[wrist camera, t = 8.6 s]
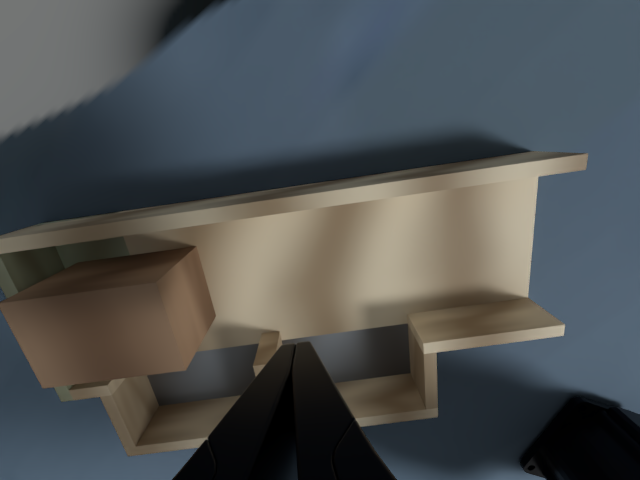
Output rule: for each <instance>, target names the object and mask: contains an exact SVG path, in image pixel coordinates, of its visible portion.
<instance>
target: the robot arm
mask: <svg viewBox="0 0 640 480" xmlns="http://www.w3.org/2000/svg"><path fill="white" fill-rule="evenodd" d="M520 465H521V466H522V468H523V469H524V471H525V472H526V473H529V474H533V475H536V476H540V477H543V478H545V479H546V480H640V414H637V413H634V412H631V411H628V410H625V409H623V408H620V407H616V406H607V405H604V404H601V403H598V402H596V401H593V400H590V399H587V398H584V397H580V396H578V397H575V398H573V399H572V400H570V402H569V403H568V404H567V405H566V406H565V408H564V409H563V410H562V411H561V412H560V414H559V415H558V416H557V417H556V419H555V420H554V421H553V422H552V423H551V425H550V426H549V427H548V428H547V429H546V431H545V432H544V433H543V434H542V435H541V437H540V438H539V439H538V440H537V441H536V443H535V444H534V445H533V446H532V447H531V449H530V450H529V451H528V452H527V453H526V455H525V456H524V457H523V458H522V460H521V461H520ZM172 480H397V479H396V478H395V477H394V475H393V474H392V473H391V472H390V470H389V469H388V467H387V466H386V465H385V463H384V462H383V461H382V459H381V458H380V457H379V455H378V454H377V452H376V451H375V450H374V448H373V446H372V445H371V443H370V442H369V440H368V439H367V437H366V435H365V434H364V432H363V430H362V429H361V427H360V425H359V424H358V422H357V421H356V419H355V417H354V415H353V414H352V412H351V410H350V409H349V407H348V405H347V403H346V402H345V400H344V398H343V397H342V395H341V393H340V391H339V390H338V388H337V386H336V385H335V383H334V381H333V379H332V378H331V376H330V374H329V373H328V371H327V369H326V368H325V366H324V364H323V362H322V361H321V359H320V357H319V356H318V354H317V352H316V350H315V349H314V347H313V345H312V344H311V342H310V341H305V342H298V343H297V344H295V343H290V344H283V345H281V346H280V347H279V349H278V350H277V351H276V352H275V354H274V355H273V356H272V357H271V359H270V360H269V361H268V362H267V364H266V365H265V366H264V367H263V369H262V370H261V371H260V372H259V373H258V375H257V376H256V377H255V378H254V380H253V381H252V382H251V383H250V385H249V386H248V387H247V388H246V390H245V391H244V392H243V393H242V395H241V396H240V397H239V398H238V400H237V401H236V402H235V403H234V405H233V406H232V407H231V408H230V410H229V411H228V412H227V413H226V415H225V416H224V417H223V418H222V420H221V421H220V422H219V423H218V425H217V426H216V427H215V428H214V430H213V431H212V432H211V433H210V435H209V436H208V440H207V439H206V440H205V441H204V442H203V443H202V444H201V446H200V447H199V448H198V449H197V451H196V452H195V453H194V454H193V456H192V457H191V458H190V459H189V460H188V462H187V463H186V464H185V465H184V466H183V467H182V469H181V470H180V471H179V472H178V473H177V475H176V476H175V477H174V478H173V479H172Z"/></svg>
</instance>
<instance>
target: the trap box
mask: <svg viewBox="0 0 640 480" xmlns="http://www.w3.org/2000/svg"><path fill="white" fill-rule="evenodd" d="M587 158H588V154H586V153H563V152H539V151H531V152H524V153H517V154H511V155H504V156H497V157H490V158H483V159H476V160H469V161H463V162H456V163H449V164H442V165H435V166H428V167H422V168H415V169H408V170H401V171H394V172H387V173H380V174H374V175H367V176H360V177H353V178H346V179H339V180H332V181H326V182H319V183H312V184H305V185H298V186H291V187H285V188H278V189H271V190H264V191H257V192H250V193H243V194H237V195H230V196H223V197H216V198H209V199H202V200H196V201H189V202H182V203H175V204H168V205H161V206H154V207H148V208H141V209H134V210H127V211H120V212H113V213H107V214H100V215H93V216H86V217H79V218H72V219H65V220H59V221H52V222H45V223H40V224H37V225H33V226H30V227H27V228H23V229H20V230H17V231H13V232H10V233H7V234H3V235H0V287H1V289H2V291H3V292H4V294H5V296H6V298H9V297H11V296H13V295H15V294H17V293H19V292H21V291H23V290H25V289H27V288H29V287H31V286H33V285H35V284H37V283H38V282H40V281H42V280H44V279H46V278H48V277H50V276H52V275H54V274H56V273H58V272H60V271H62V270H64V269H66V268H68V267H70V266H72V265H74V264H76V263H78V262H84V261H91V260H99V259H106V258H113V257H121V256H128V255H135V254H143V253H150V252H158V251H165V250H172V249H180V248H187V247H194V246H197V250H198V253H199V257H200V261H201V264H202V268H203V271H204V275H205V278H206V282H207V285H208V289H209V293H210V296H211V300H212V303H213V307H214V310H215V314H216V317H215V319H214V321H213V323H212V324H211V326H210V328H209V330H208V332H207V333H206V335H205V337H204V339H203V341H202V342H201V344H200V346H199V348H198V350H197V351H196V353H195V355H194V357H193V359H192V360H191V362H190V364H189V366H188V368H187V369H186V370H185V371H177V372H169V373H162V374H154V375H146V376H138V377H130V378H122V379H114V380H107V381H99V382H91V383H83V384H75V385H67V386H59V387H54V389H55V391H56V392H57V394H58V396H59V398H60V400H61V402H64V401H72V400H79V399H87V398H95V397H100V398H101V400H102V402H103V405H104V407H105V409H106V411H107V413H108V415H109V417H110V419H111V421H112V424H113V426H114V428H115V430H116V432H117V434H118V436H119V438H120V440H121V442H122V445H123V447H124V449H125V451H126V453H127V455H128V456H135V455H143V454H151V453H159V452H166V451H174V450H182V449H190V448H198V447H200V446H201V444H202V443H203V442H204V441H205V440H206V439H207V440H208V436H209V435H210V433H211V432H212V431H213V430H214V428H215V427H216V426H217V425H218V423H219V422H220V421H221V420H222V418H223V417H224V416H225V415H226V413H227V412H228V411H229V410H230V408H231V407H232V406H233V405H234V403H235V402H236V401H237V400H238V398H239V397H240V396H241V395H242V393H243V392H244V391H245V390H246V388H247V387H248V386H249V385H250V383H251V382H252V381H253V380H254V378H255V377H256V376H257V375H258V373H259V372H260V371H261V370H262V369H263V367H264V366H265V365H266V364H267V362H268V361H269V360H270V359H271V357H272V356H273V355H274V354H275V352H276V351H277V350H278V349H279V347H280V346H281V345H283V344H290V343H295V344H297V343H298V342H305V341H310V342H311V344H312V345H313V347H314V349H315V350H316V352H317V354H318V356H319V357H320V359H321V361H322V362H323V364H324V366H325V368H326V369H327V371H328V373H329V374H330V376H331V378H332V379H333V381H334V383H335V385H336V386H337V388H338V390H339V391H340V393H341V395H342V397H343V398H344V400H345V402H346V403H347V405H348V407H349V409H350V410H351V412H352V414H353V415H354V417H355V419H356V421H357V422H358V424H359V425H360V427H364V426H372V425H379V424H387V423H395V422H403V421H411V420H419V419H427V418H435V417H438V392H437V352H444V351H451V350H459V349H467V348H474V347H482V346H489V345H497V344H505V343H512V342H520V341H527V340H535V339H543V338H550V337H558V336H564V330H565V324H564V323H562V322H561V321H559V320H558V319H557V318H555V317H554V316H552V315H551V314H550V313H548V312H547V311H546V310H544V309H543V308H541V307H540V306H539V305H537V304H536V303H535V302H533V301H532V300H530V299H529V298H528V291H529V279H530V267H531V256H532V244H533V232H534V221H535V209H536V197H537V186H538V176H545V175H552V174H559V173H566V172H573V171H580V170H586V166H587Z"/></svg>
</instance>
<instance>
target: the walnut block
mask: <svg viewBox="0 0 640 480" xmlns="http://www.w3.org/2000/svg"><path fill="white" fill-rule="evenodd" d="M0 310H1V312H2V313H3V315H4V317H5V319H6V321H7V323H8V325H9V326H10V328H11V330H12V332H13V334H14V336H15V338H16V339H17V341H18V343H19V345H20V347H21V349H22V351H23V353H24V354H25V356H26V358H27V360H28V362H29V364H30V366H31V367H32V369H33V371H34V373H35V375H36V377H37V379H38V381H39V382H40V384H41V386H42V388H43V389H44V388H52V387H59V386H67V385H75V384H83V383H91V382H99V381H107V380H114V379H122V378H130V377H138V376H146V375H154V374H162V373H169V372H177V371H185V370H186V369H187V368H188V366H189V364H190V362H191V360H192V359H193V357H194V355H195V353H196V351H197V350H198V348H199V346H200V344H201V342H202V341H203V339H204V337H205V335H206V333H207V332H208V330H209V328H210V326H211V324H212V323H213V321H214V319H215V317H216V314H215V310H214V307H213V303H212V300H211V296H210V293H209V289H208V285H207V282H206V278H205V275H204V271H203V268H202V264H201V261H200V257H199V253H198V250H197V246H194V247H187V248H180V249H172V250H165V251H158V252H150V253H143V254H135V255H128V256H121V257H113V258H106V259H99V260H91V261H84V262H78V263H76V264H74V265H72V266H70V267H68V268H66V269H64V270H62V271H60V272H58V273H56V274H54V275H52V276H50V277H48V278H46V279H44V280H42V281H40V282H38V283H37V284H35V285H33V286H31V287H29V288H27V289H25V290H23V291H21V292H19V293H17V294H15V295H13V296H11V297H9V298H7V299H5V300H3V301H1V302H0Z"/></svg>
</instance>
